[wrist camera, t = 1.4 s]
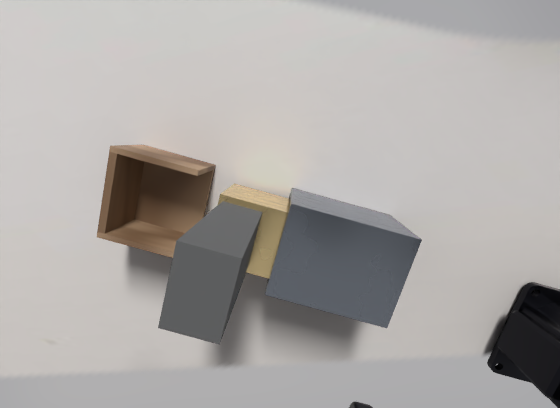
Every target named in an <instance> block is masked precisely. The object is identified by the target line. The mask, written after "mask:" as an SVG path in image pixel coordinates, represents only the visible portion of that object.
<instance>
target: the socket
mask: <svg viewBox="0 0 560 408" xmlns="http://www.w3.org/2000/svg"><path fill="white" fill-rule="evenodd" d="M214 170H215V165H214V164H210V163H207V162H203V161H199V160H196V159H192V158H189V157H185V156H181V155H178V154H174V153H171V152H167V151H163V150H160V149H156V148H153V147H149V146H145V145H121V146H110V151H109V158H108V165H107V171H106V178H105V185H104V191H103V198H102V205H101V212H100V218H99V225H98V232H97V237H98V238H102V239H106V240H109V241H113V242H117V243H120V244H124V245H127V246H131V247H135V248H138V249H142V250H146V251H149V252H153V253H157V254H160V255H164V256H168V257H171V258H173V255H174V250H175V245H176V241H177V240H178V239H179V238H180V237H181V236H182V235H184V234H185V233H186V232H187V231H188V230H189V229H191V228H192V227H193V226H194V225H195V224H197V223H198V222H199V221H200V220H201V219H202V218H204V214H205V210H206V205H207V201H208V196H209V192H210V187H211V183H212V179H213V174H214Z"/></svg>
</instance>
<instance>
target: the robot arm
mask: <svg viewBox="0 0 560 408" xmlns="http://www.w3.org/2000/svg"><path fill="white" fill-rule="evenodd" d="M534 289H535V291H534V292H533V293H532V291H533V290H534ZM487 363H488V366H489V367H490V368H491V370H492V371H493V372H495V373H498V374H502V375H505V376H509V377H513V378H516V379H520V380H524V381H527V382H531V383H533V384H534V385H535V386H536V387H537V388H538V389H539V390H540V391H541V392H542V393H543V394H544V395H545V396H546V397H548V398H549V399H550V400H551V401H552V402H553V403H554V404H555V405H556V406H557V407H558V408H560V290H559V289H556V288H552V287H548V286H545V285H541V284H538V283H533V282H531V283H528V284H526V285H525V286H524V287H523V289H522V291H521V293H520V296H519V298H518V300H517V302H516V304H515V306H514V308H513V310H512V312H511V314H510V316H509V318H508V320H507V322H506V324H505V326H504V328H503V331H502V333H501V335H500V337H499V339H498V341H497V343H496V345H495V347H494V349H493V351H492V353H491V355H490V357H489V359H488V362H487ZM498 363H499V364H498ZM496 364H498V365H496ZM495 365H496V366H495ZM349 408H373V407H371V406H370V405H367V404H363V403H359V402H353V403H352V404H351V405H350V407H349Z"/></svg>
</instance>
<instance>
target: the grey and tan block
mask: <svg viewBox="0 0 560 408" xmlns="http://www.w3.org/2000/svg"><path fill="white" fill-rule="evenodd" d="M289 208H290V199H288V198H284V197H281V196H277V195H273V194H270V193H266V192H263V191H259V190H255V189H252V188H248V187H245V186H241V185H237V184H234V185H232V186H231V187H229V188H228V189H227V190H225V191H224V192H223V193H221V194H220V198H219V202H218V206H217V207H215V208H214V209H213V210H212V211H211V212H209V213H208V214H207V215H206V216H205V217H204V218H202V219H201V220H200V221H199V222H198V223H197V224H195V225H194V226H193V227H192V228H191V229H189V230H188V231H187V232H186V233H185V234H184V235H182V236H181V237H180V238H179V239H178V240H177V241H176V245H175V250H174V255H173V259H172V264H171V269H170V274H169V279H168V283H167V288H166V293H165V298H164V302H163V307H162V312H161V317H160V322H159V326H158V328H160V329H164V330H168V331H172V332H175V333H179V334H183V335H186V336H190V337H194V338H197V339H201V340H205V341H208V342H212V343H216V344H220V342H221V339H222V336H223V334H224V331H225V328H226V325H227V323H228V320H229V317H230V314H231V312H232V309H233V306H234V304H235V301H236V298H237V295H238V293H239V290H240V287H241V284H242V282H243V279H244V276H245V274H246V273H250V274H254V275H257V276H261V277H265V278H268V279H269V278H270V275H271V271H272V268H273V264H274V261H275V257H276V254H277V250H278V247H279V243H280V240H281V236H282V233H283V229H284V226H285V222H286V219H287V215H288V212H289Z"/></svg>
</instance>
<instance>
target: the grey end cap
mask: <svg viewBox="0 0 560 408" xmlns="http://www.w3.org/2000/svg"><path fill="white" fill-rule="evenodd" d="M289 199H290V208H289V212H288V215H287V219H286V222H285V226H284V229H283V233H282V236H281V240H280V243H279V247H278V250H277V254H276V257H275V261H274V264H273V268H272V271H271V275H270V278H269V279H268V282H267V287H266V292H265V295H267V296H271V297H275V298H278V299H282V300H286V301H289V302H293V303H297V304H300V305H304V306H308V307H311V308H315V309H319V310H322V311H326V312H330V313H333V314H337V315H341V316H344V317H348V318H351V319H355V320H359V321H362V322H366V323H370V324H373V325H377V326H381V327H384V328H387V327H388V324H389V322H390V319H391V317H392V314H393V312H394V309H395V307H396V304H397V302H398V299H399V296H400V294H401V291H402V289H403V286H404V284H405V281H406V279H407V276H408V273H409V271H410V268H411V266H412V263H413V261H414V258H415V256H416V253H417V251H418V248H419V245H420V243H421V239H420V238H419V237H418V236H416V235H415V234H414V233H412V232H411V231H410V230H409V229H407V228H406V227H405V226H403V225H402V224H401V223H400V222H398V221H397V220H396V219H394V218H393V217H392V216H391V215H388V214H385V213H381V212H377V211H374V210H370V209H367V208H363V207H359V206H356V205H352V204H348V203H345V202H341V201H338V200H334V199H330V198H327V197H323V196H320V195H316V194H312V193H309V192H305V191H302V190H298V189H294V188H292V189H291V193H290V196H289Z"/></svg>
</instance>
